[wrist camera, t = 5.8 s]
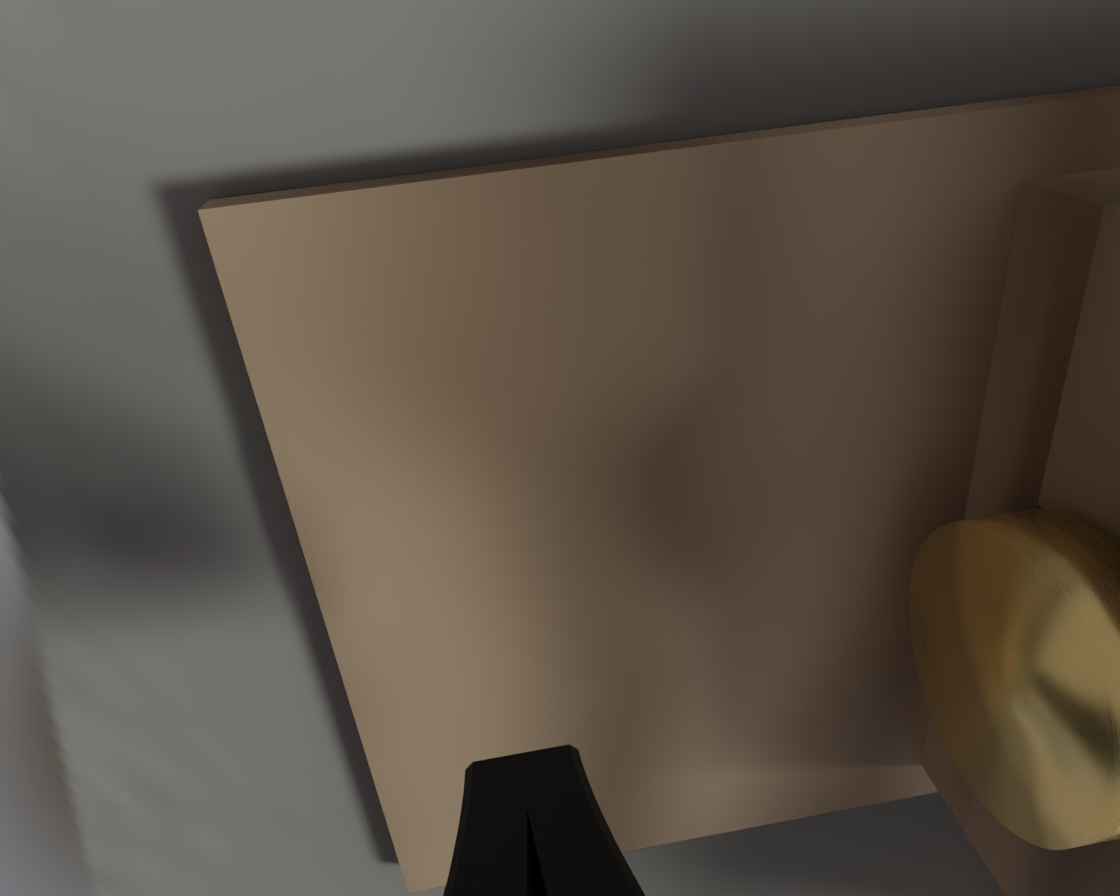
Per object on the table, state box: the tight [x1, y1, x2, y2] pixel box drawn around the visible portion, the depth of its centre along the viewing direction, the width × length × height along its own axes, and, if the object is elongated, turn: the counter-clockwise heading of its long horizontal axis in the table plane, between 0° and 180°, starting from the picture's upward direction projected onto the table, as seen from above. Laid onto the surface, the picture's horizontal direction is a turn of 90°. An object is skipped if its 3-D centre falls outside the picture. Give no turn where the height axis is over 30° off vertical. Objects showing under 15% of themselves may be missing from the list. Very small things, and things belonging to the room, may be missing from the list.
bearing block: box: [198, 85, 1120, 896], centre depth 12 cm, size 22×14×6 cm, turn 95°
